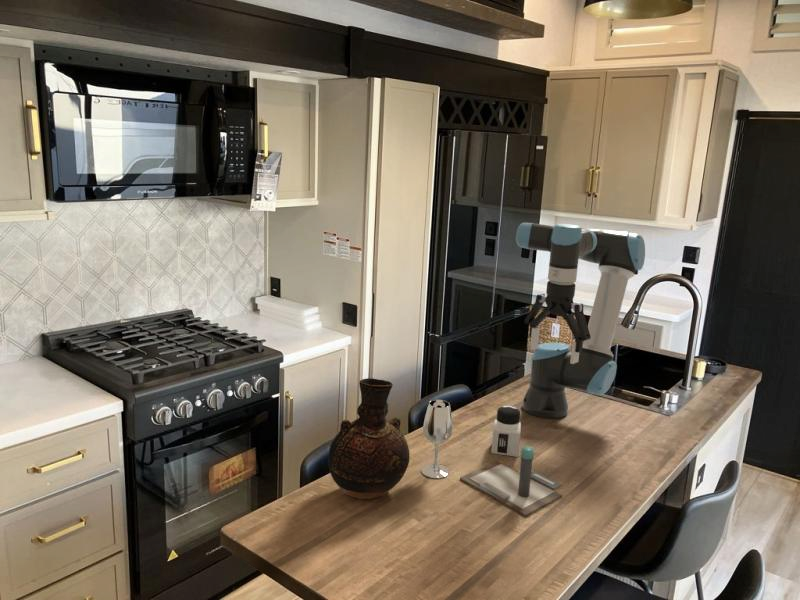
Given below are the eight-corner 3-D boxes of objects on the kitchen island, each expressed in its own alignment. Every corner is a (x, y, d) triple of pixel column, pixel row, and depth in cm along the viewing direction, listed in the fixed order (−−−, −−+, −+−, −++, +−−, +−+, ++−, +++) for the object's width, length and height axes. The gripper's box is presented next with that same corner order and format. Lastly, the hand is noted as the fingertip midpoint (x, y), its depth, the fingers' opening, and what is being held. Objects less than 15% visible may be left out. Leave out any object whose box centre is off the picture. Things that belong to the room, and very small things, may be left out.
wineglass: (434, 461, 182) (438, 395, 177) (455, 472, 176) (460, 404, 171) (414, 470, 176) (418, 402, 171) (435, 482, 171) (440, 412, 166)
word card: (534, 471, 179) (534, 470, 179) (561, 485, 172) (561, 483, 172) (526, 475, 176) (526, 474, 176) (553, 489, 170) (553, 488, 170)
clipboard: (496, 463, 182) (497, 458, 182) (561, 497, 167) (562, 491, 166) (459, 479, 173) (460, 474, 172) (525, 517, 157) (526, 511, 156)
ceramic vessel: (336, 517, 153) (339, 399, 146) (319, 480, 169) (321, 372, 162) (418, 503, 161) (425, 391, 153) (395, 469, 176) (400, 366, 169)
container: (518, 457, 186) (522, 415, 183) (491, 453, 188) (494, 412, 185) (518, 445, 194) (522, 405, 191) (492, 442, 195) (496, 402, 192)
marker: (519, 489, 167) (523, 445, 163) (530, 492, 166) (535, 447, 162) (516, 495, 165) (520, 450, 161) (527, 498, 164) (532, 453, 160)
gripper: (516, 274, 182) (510, 346, 187) (593, 293, 164) (584, 371, 169) (533, 271, 187) (526, 341, 192) (610, 289, 169) (600, 366, 174)
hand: (553, 355), depth 181 cm, fingers open, 13 cm apart
